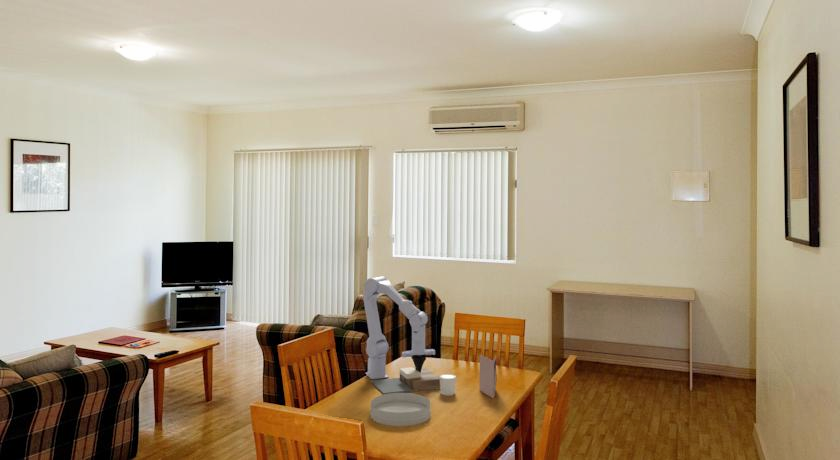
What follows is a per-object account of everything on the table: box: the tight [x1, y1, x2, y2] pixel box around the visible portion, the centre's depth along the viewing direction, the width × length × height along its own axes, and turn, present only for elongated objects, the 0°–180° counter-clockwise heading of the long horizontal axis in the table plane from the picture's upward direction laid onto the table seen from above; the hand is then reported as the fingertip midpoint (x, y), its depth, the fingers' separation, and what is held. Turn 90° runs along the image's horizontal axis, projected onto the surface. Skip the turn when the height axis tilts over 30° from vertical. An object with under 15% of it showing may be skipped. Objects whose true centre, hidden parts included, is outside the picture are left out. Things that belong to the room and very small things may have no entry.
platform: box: [399, 367, 440, 392], centre depth 259 cm, size 18×12×4 cm, turn 21°
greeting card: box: [478, 354, 498, 399], centre depth 246 cm, size 11×7×15 cm, turn 168°
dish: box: [369, 392, 432, 427], centre depth 222 cm, size 22×22×5 cm
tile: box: [398, 366, 420, 379], centre depth 258 cm, size 9×6×2 cm, turn 21°
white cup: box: [438, 373, 457, 396], centre depth 247 cm, size 7×7×7 cm
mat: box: [370, 377, 414, 395], centre depth 255 cm, size 18×12×1 cm
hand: (418, 372), depth 259 cm, fingers closed
